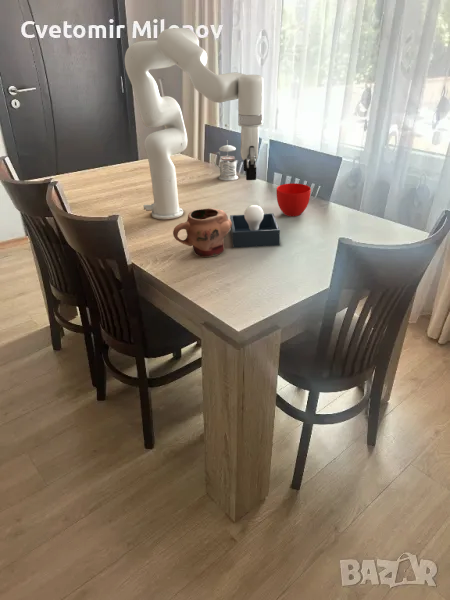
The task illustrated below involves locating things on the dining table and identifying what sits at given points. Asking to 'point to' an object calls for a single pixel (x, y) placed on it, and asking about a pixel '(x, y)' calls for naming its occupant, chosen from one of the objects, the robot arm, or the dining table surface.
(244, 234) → the tote
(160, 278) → the dining table surface
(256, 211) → the light bulb
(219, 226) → the brown clay mug
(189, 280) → the dining table surface
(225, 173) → the french press
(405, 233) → the dining table surface
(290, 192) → the ceramic cup
